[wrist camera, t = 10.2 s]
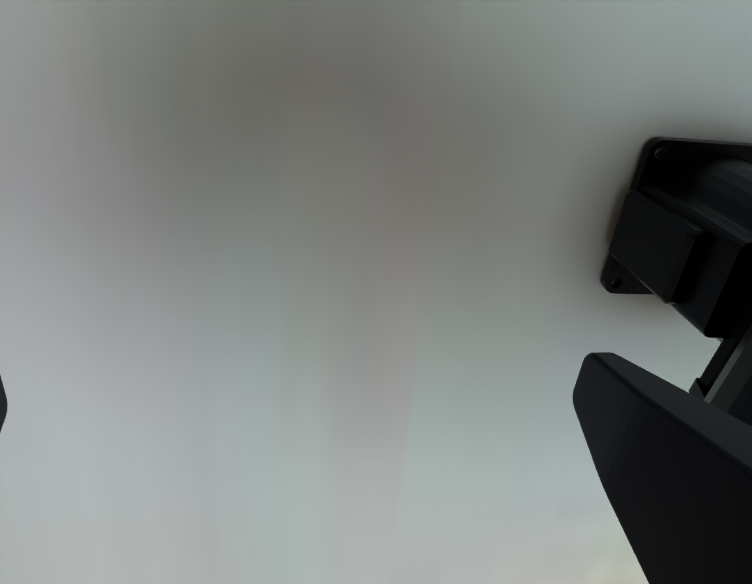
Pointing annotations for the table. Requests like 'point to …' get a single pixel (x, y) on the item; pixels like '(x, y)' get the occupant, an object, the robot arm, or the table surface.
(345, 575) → the table surface
